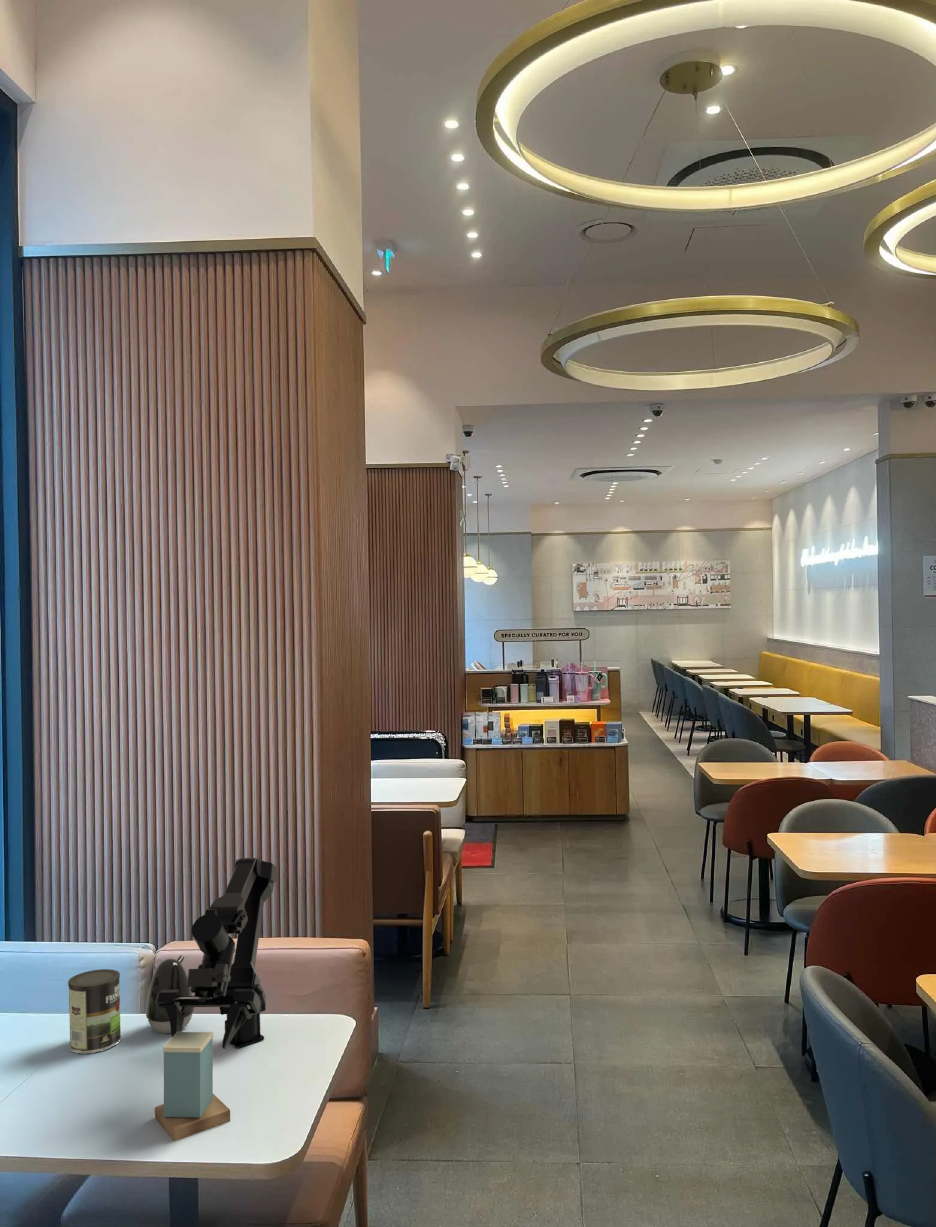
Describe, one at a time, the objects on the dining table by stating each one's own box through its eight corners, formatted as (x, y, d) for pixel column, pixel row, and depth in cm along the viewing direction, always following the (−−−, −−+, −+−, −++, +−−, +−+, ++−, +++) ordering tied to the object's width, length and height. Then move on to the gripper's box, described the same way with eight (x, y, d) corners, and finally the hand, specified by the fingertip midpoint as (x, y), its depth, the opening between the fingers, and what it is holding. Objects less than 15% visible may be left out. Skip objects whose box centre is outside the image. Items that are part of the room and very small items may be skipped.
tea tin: (177, 1099, 169) (177, 1032, 170) (213, 1099, 169) (213, 1032, 169) (163, 1117, 163) (162, 1047, 163) (200, 1118, 162) (200, 1048, 163)
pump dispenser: (204, 1020, 209) (202, 952, 209) (177, 1040, 199) (176, 969, 199) (164, 1017, 212) (163, 950, 212) (136, 1036, 202) (135, 966, 202)
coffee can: (128, 1033, 204) (127, 968, 204) (109, 1054, 194) (108, 985, 194) (82, 1034, 204) (80, 969, 204) (60, 1055, 194) (59, 987, 194)
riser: (208, 1102, 173) (208, 1089, 173) (230, 1124, 165) (230, 1110, 165) (154, 1121, 167) (154, 1107, 167) (174, 1144, 159) (174, 1129, 159)
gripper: (157, 947, 176) (135, 1032, 165) (254, 946, 175) (239, 1031, 164) (173, 973, 184) (153, 1055, 173) (266, 972, 183) (252, 1054, 172)
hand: (198, 1049), depth 170 cm, fingers open, 9 cm apart
